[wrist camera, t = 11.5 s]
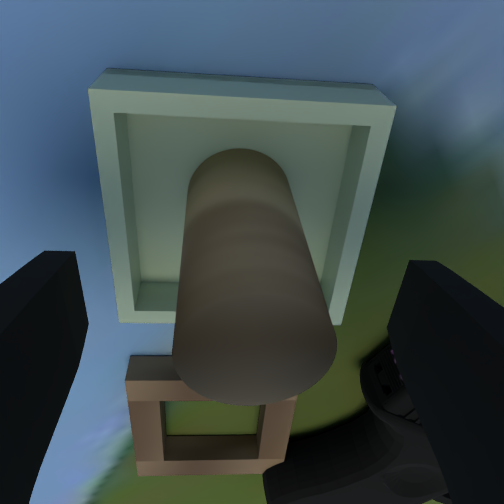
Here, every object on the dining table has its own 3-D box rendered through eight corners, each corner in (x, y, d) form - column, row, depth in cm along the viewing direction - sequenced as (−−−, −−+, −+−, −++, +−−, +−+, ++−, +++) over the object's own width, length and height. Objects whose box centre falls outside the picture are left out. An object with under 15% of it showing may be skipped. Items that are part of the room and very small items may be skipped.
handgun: (476, 535, 30) (645, 444, 24) (501, 591, 27) (696, 502, 22) (234, 465, 22) (402, 314, 17) (238, 532, 20) (436, 378, 15)
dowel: (280, 242, 14) (317, 406, 9) (185, 235, 14) (169, 404, 9) (298, 153, 12) (355, 297, 7) (189, 143, 12) (174, 288, 7)
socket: (296, 356, 18) (300, 380, 17) (278, 449, 22) (281, 473, 21) (130, 356, 17) (124, 380, 16) (142, 451, 21) (138, 476, 20)
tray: (372, 84, 12) (396, 106, 10) (328, 285, 16) (341, 325, 14) (107, 68, 11) (87, 88, 10) (130, 282, 15) (119, 322, 14)
